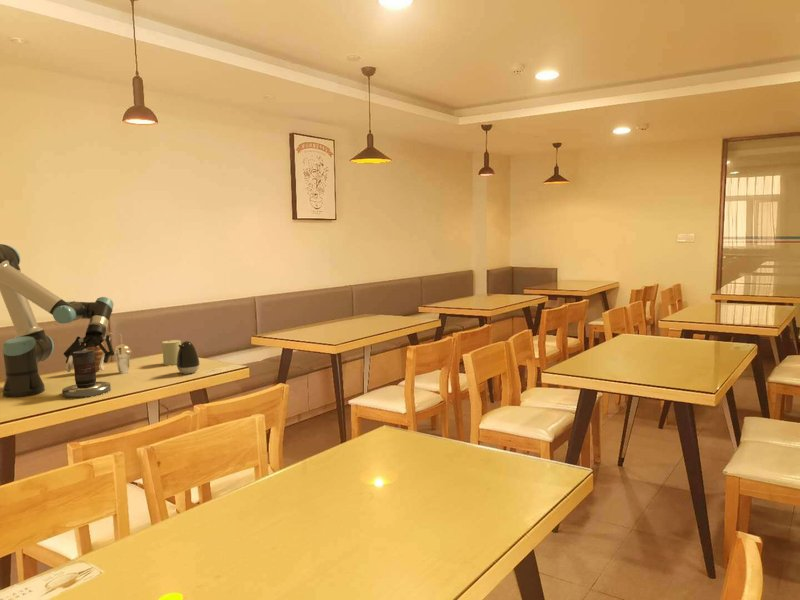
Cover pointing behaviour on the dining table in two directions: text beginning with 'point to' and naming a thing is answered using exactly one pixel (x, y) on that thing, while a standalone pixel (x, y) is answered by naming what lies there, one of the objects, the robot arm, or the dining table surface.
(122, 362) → the cup with straw
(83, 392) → the plate
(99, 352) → the croissant
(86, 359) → the camera lens
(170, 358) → the pale green cup
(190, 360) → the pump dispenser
